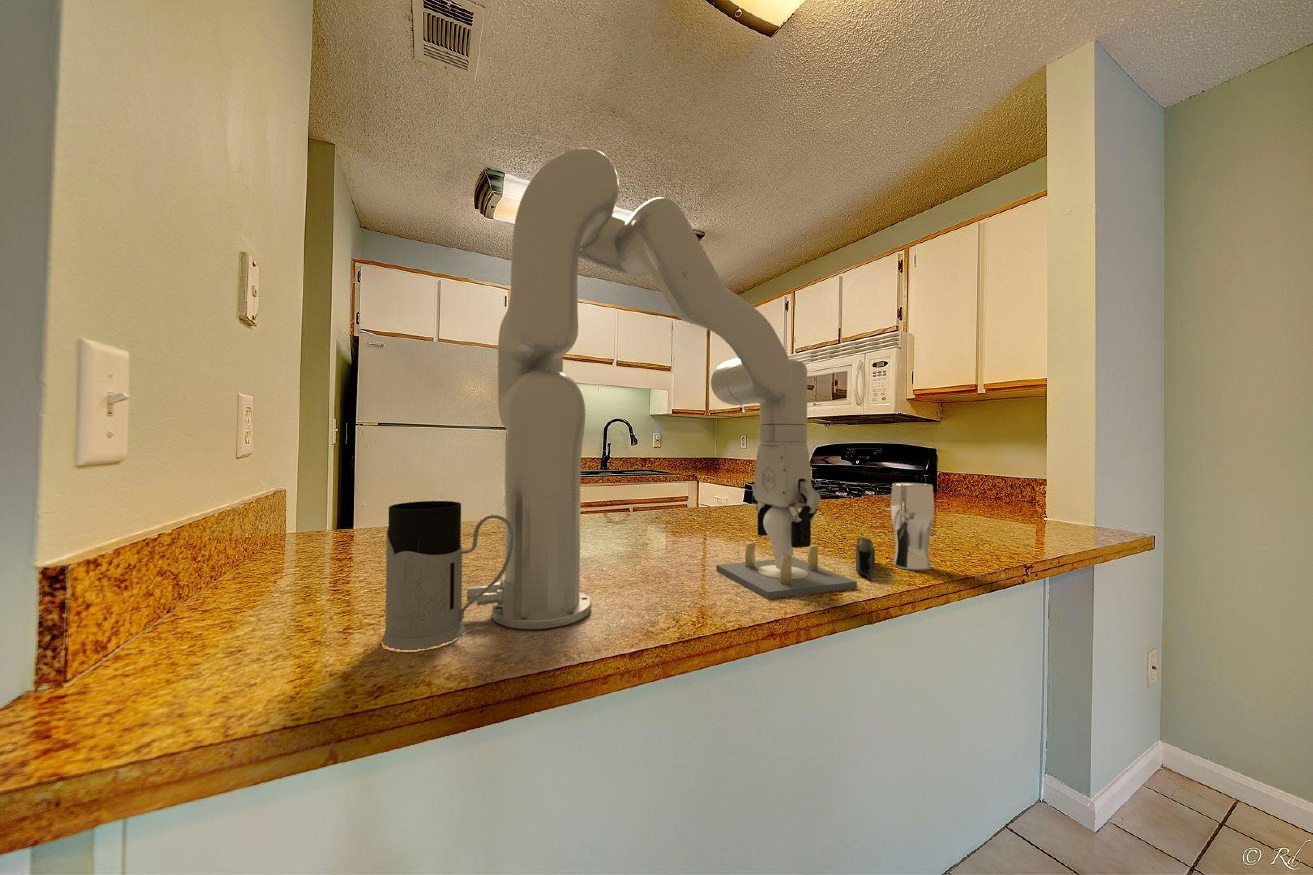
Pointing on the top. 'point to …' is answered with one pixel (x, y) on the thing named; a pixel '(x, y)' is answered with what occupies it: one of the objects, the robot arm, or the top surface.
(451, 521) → the glass holder
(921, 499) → the beer glass
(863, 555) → the mobile phone
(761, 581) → the pin board
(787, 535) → the lightbulb
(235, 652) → the top surface
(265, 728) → the top surface
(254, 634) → the top surface
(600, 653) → the top surface
